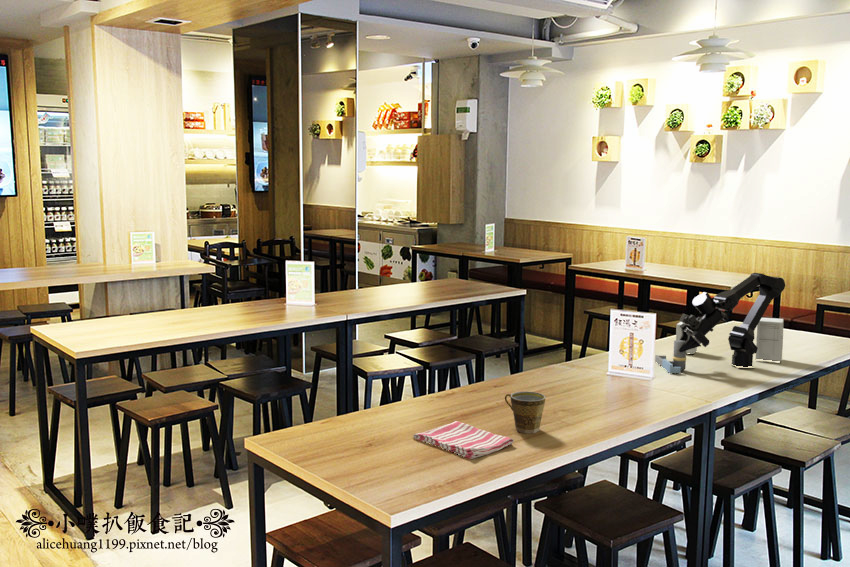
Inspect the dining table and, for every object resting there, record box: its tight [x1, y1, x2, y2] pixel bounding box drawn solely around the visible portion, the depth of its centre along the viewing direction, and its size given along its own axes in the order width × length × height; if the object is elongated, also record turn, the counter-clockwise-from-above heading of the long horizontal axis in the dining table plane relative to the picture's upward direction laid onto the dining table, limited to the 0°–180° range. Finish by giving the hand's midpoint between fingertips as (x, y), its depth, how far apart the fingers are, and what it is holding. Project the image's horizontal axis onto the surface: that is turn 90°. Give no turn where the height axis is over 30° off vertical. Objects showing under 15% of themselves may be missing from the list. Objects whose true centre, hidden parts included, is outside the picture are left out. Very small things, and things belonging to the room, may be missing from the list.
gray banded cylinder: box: [672, 339, 687, 371], centre depth 288 cm, size 5×5×10 cm
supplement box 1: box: [675, 321, 698, 354], centre depth 319 cm, size 7×7×13 cm
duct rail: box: [654, 354, 682, 374], centre depth 294 cm, size 4×20×4 cm, turn 178°
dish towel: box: [412, 420, 515, 460], centre depth 209 cm, size 17×23×4 cm
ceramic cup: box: [504, 391, 546, 434], centre depth 220 cm, size 13×10×10 cm
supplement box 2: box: [755, 317, 784, 362], centre depth 305 cm, size 10×9×17 cm
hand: (677, 350), depth 288 cm, fingers closed on gray banded cylinder, 4 cm apart
